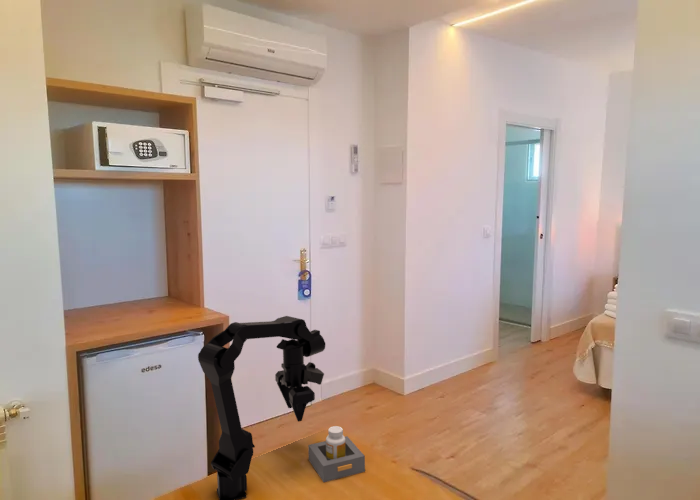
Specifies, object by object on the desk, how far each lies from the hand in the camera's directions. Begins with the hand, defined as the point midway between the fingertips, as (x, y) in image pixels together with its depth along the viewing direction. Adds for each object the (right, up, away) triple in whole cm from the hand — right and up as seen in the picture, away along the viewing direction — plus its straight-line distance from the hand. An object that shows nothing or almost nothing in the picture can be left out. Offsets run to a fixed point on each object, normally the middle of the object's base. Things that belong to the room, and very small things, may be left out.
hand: (294, 414), depth 141 cm
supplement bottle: (+12, -13, -3) cm, 17 cm away
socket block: (+12, -13, -3) cm, 18 cm away
